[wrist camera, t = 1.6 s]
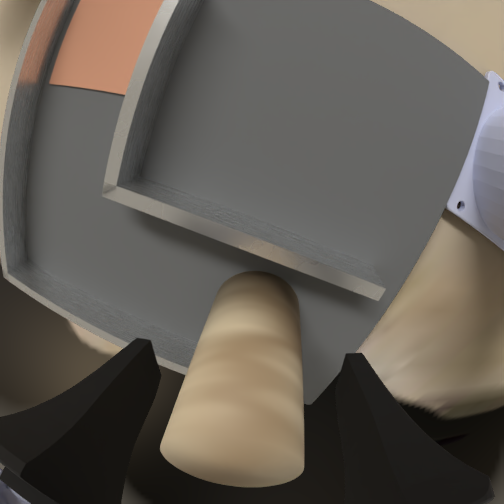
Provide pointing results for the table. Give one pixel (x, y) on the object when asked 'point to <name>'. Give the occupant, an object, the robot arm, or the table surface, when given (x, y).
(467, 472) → the robot arm
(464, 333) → the table surface
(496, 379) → the table surface
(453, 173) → the charcoal mat
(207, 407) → the ash peg
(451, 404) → the table surface
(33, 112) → the steel corridor
